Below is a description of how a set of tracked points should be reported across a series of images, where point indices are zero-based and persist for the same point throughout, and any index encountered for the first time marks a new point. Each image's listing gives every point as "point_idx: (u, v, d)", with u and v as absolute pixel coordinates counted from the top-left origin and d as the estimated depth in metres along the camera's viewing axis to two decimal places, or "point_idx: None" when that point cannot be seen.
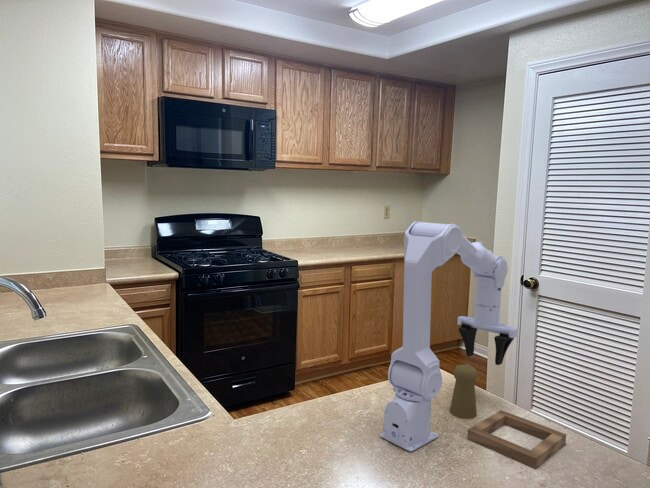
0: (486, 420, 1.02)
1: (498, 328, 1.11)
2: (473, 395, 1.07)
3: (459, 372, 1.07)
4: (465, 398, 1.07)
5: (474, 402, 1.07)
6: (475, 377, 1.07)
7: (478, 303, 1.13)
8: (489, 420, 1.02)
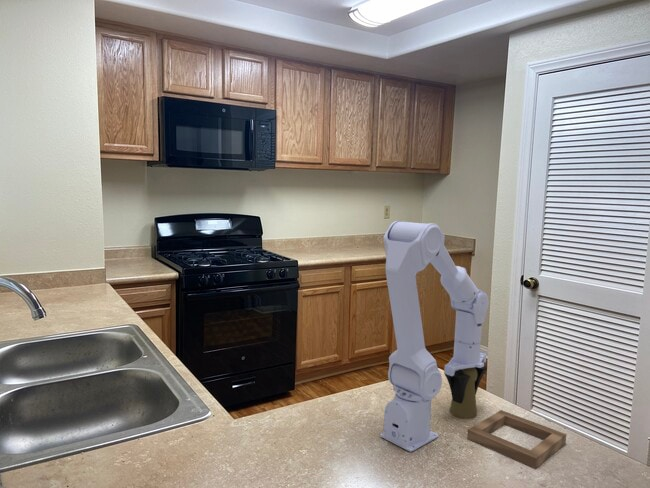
0: (486, 420, 1.02)
1: (449, 362, 1.07)
2: (473, 395, 1.07)
3: None
4: (465, 398, 1.07)
5: (474, 402, 1.07)
6: (475, 377, 1.07)
7: (457, 339, 1.07)
8: (489, 420, 1.02)
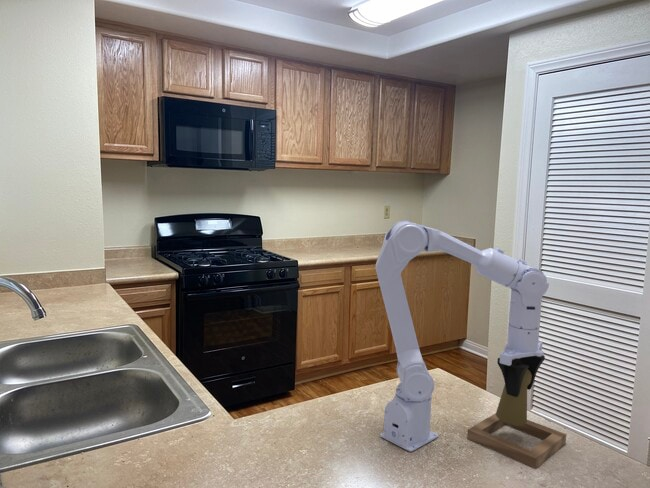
0: (486, 420, 1.02)
1: (504, 350, 0.94)
2: (524, 400, 0.95)
3: None
4: (515, 403, 0.95)
5: (525, 408, 0.96)
6: (529, 381, 0.94)
7: None
8: (489, 420, 1.02)
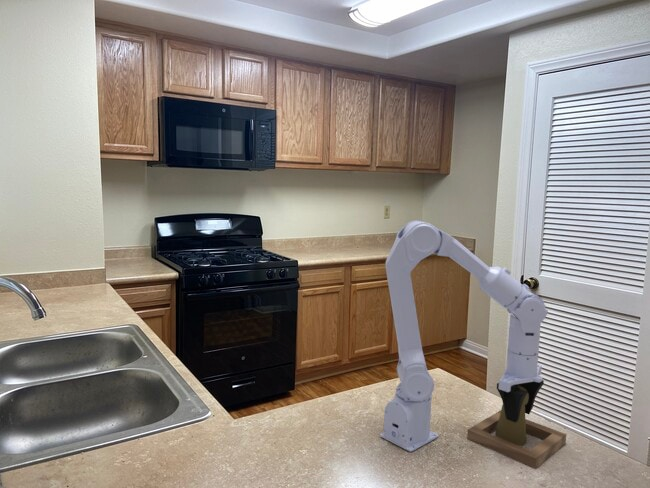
0: (486, 420, 1.02)
1: (503, 375, 0.94)
2: (523, 420, 0.96)
3: None
4: (513, 423, 0.95)
5: (524, 427, 0.96)
6: (526, 400, 0.95)
7: None
8: (489, 420, 1.02)
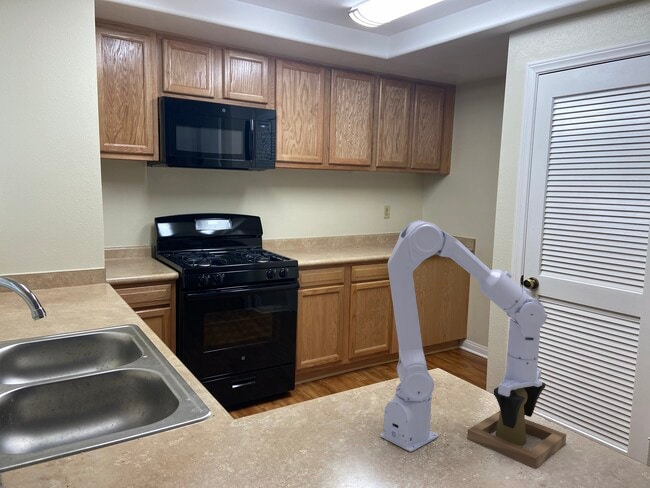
0: (486, 420, 1.02)
1: (503, 379, 0.94)
2: (522, 419, 0.96)
3: None
4: None
5: (523, 427, 0.96)
6: (524, 400, 0.95)
7: None
8: (489, 420, 1.02)
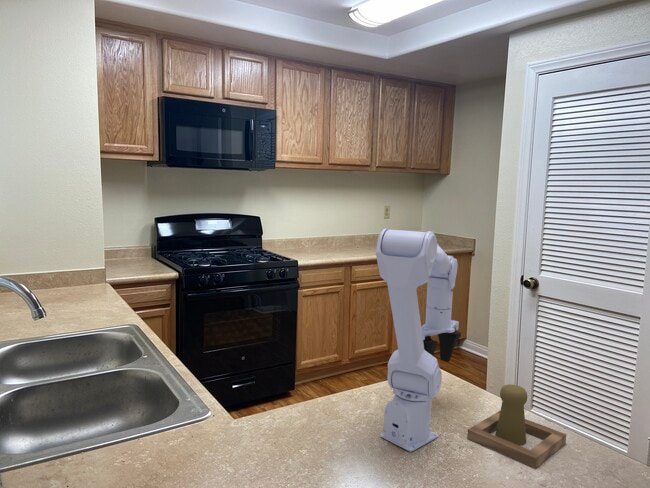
0: (486, 420, 1.02)
1: (421, 327, 1.08)
2: (522, 419, 0.96)
3: (506, 394, 0.96)
4: (512, 422, 0.96)
5: (523, 427, 0.96)
6: (524, 400, 0.95)
7: (431, 306, 1.07)
8: (489, 420, 1.02)
